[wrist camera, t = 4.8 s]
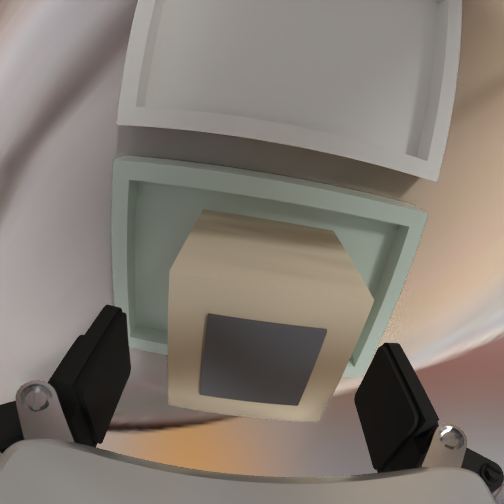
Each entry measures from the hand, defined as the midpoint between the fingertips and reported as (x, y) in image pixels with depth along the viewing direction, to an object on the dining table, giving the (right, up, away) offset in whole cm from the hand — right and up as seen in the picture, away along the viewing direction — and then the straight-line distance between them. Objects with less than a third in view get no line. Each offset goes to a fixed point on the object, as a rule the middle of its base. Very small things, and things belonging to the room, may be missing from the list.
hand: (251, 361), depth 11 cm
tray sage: (0, +3, +5) cm, 6 cm away
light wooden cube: (0, +3, +5) cm, 5 cm away
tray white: (+2, +13, 0) cm, 13 cm away
